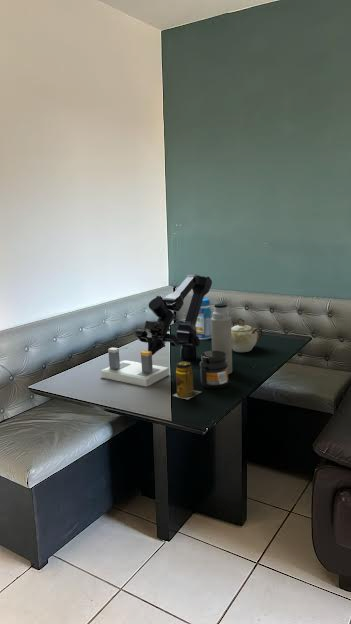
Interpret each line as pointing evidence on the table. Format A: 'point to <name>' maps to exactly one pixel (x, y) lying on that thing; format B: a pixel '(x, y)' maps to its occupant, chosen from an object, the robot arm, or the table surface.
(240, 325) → the sugar bowl
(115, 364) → the on handle
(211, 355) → the supplement container
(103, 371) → the box
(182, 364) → the condiment
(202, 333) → the beverage bottle
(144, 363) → the orange-capped grey pillar
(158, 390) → the table surface
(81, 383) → the table surface
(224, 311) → the thermos bottle
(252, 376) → the table surface
